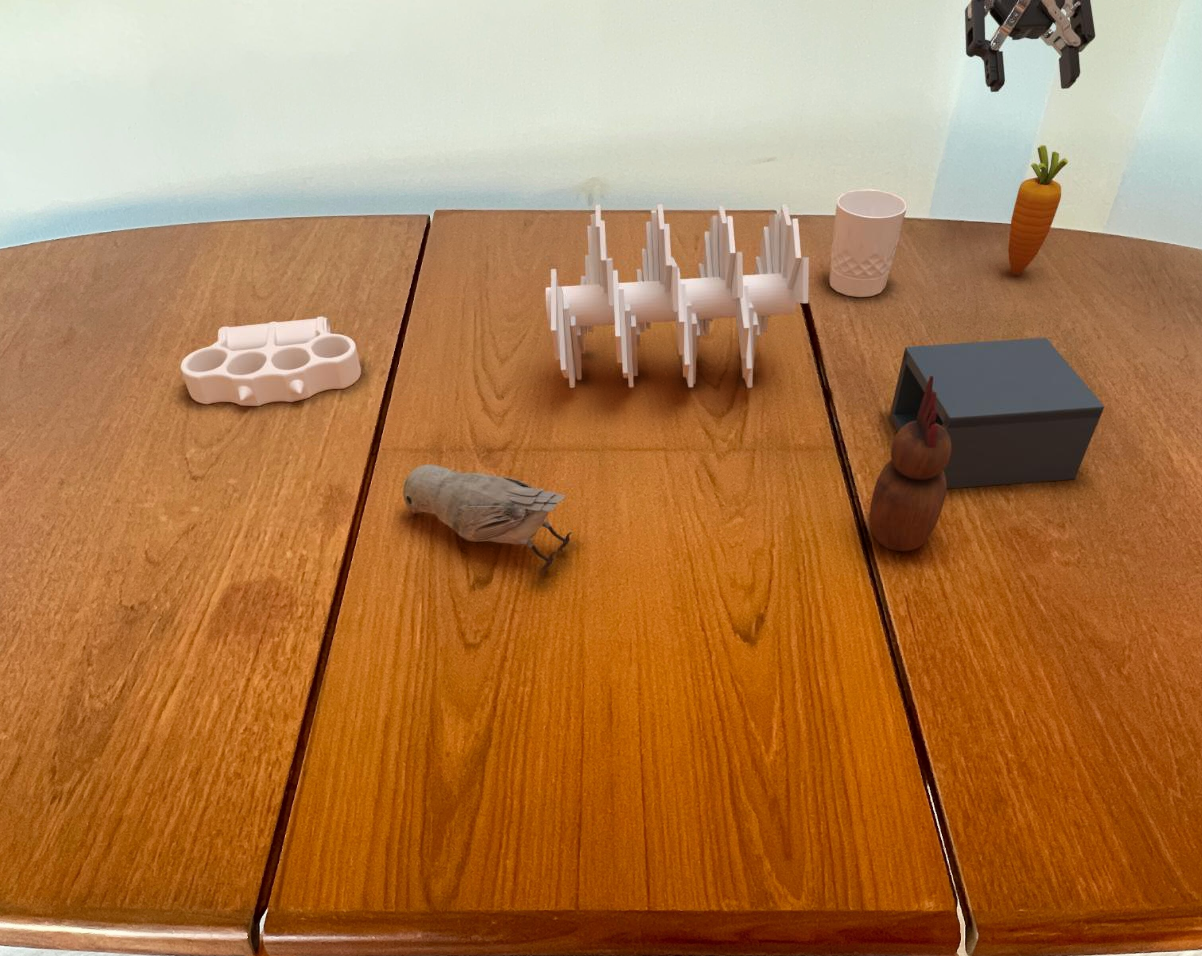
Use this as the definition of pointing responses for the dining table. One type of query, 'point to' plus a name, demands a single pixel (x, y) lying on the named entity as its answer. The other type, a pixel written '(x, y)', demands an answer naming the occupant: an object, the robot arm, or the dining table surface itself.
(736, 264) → the spiral staircase
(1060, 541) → the dining table surface
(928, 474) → the wooden figurine
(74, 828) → the dining table surface
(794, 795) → the dining table surface
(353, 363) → the white brass knuckles
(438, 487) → the decorative bird
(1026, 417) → the shelf
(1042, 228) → the carrot
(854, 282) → the white cup
